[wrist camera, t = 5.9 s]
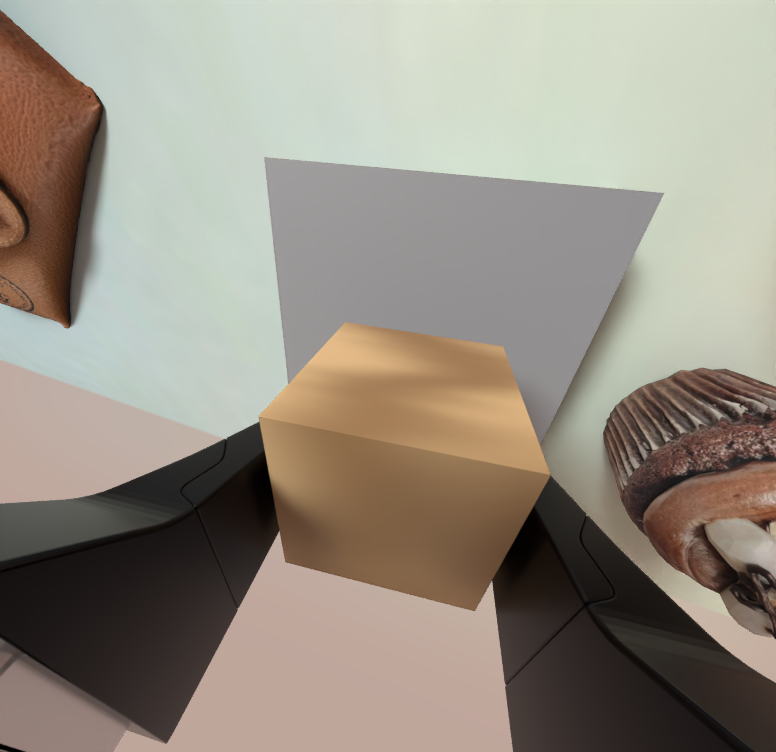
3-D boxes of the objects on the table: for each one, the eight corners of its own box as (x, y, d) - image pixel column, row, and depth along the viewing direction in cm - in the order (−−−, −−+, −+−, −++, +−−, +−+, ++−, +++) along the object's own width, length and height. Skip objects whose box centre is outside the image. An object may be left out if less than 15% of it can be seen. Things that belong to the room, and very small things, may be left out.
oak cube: (502, 346, 9) (551, 474, 5) (465, 460, 11) (474, 611, 7) (345, 322, 9) (258, 416, 5) (344, 436, 12) (285, 562, 8)
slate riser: (607, 197, 13) (663, 193, 9) (510, 433, 20) (523, 479, 17) (308, 169, 14) (264, 157, 11) (318, 398, 22) (293, 433, 18)
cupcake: (627, 497, 21) (747, 695, 12) (559, 408, 18) (651, 579, 10) (810, 443, 17) (1190, 690, 8) (754, 316, 14) (1221, 482, 6)
